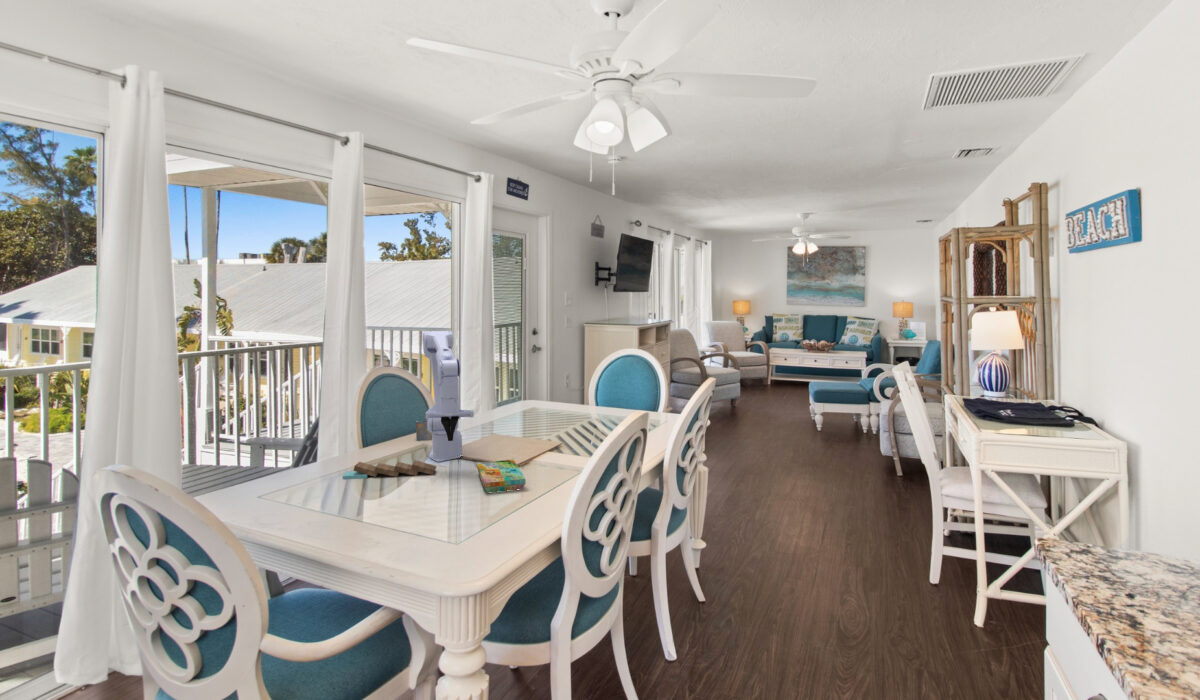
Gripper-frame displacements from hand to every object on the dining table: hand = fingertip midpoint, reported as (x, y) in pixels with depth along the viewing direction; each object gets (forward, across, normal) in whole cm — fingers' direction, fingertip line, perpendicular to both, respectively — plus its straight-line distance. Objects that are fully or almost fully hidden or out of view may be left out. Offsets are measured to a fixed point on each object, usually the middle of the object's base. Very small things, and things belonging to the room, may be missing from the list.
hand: (450, 440), depth 184 cm
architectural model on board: (+11, -11, +42) cm, 45 cm away
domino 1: (+10, -25, 0) cm, 27 cm away
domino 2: (+10, -22, 0) cm, 24 cm away
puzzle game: (+11, +15, -11) cm, 22 cm away
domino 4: (+10, -10, 0) cm, 14 cm away
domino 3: (+10, -16, 0) cm, 19 cm away
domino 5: (+10, -5, 0) cm, 11 cm away
